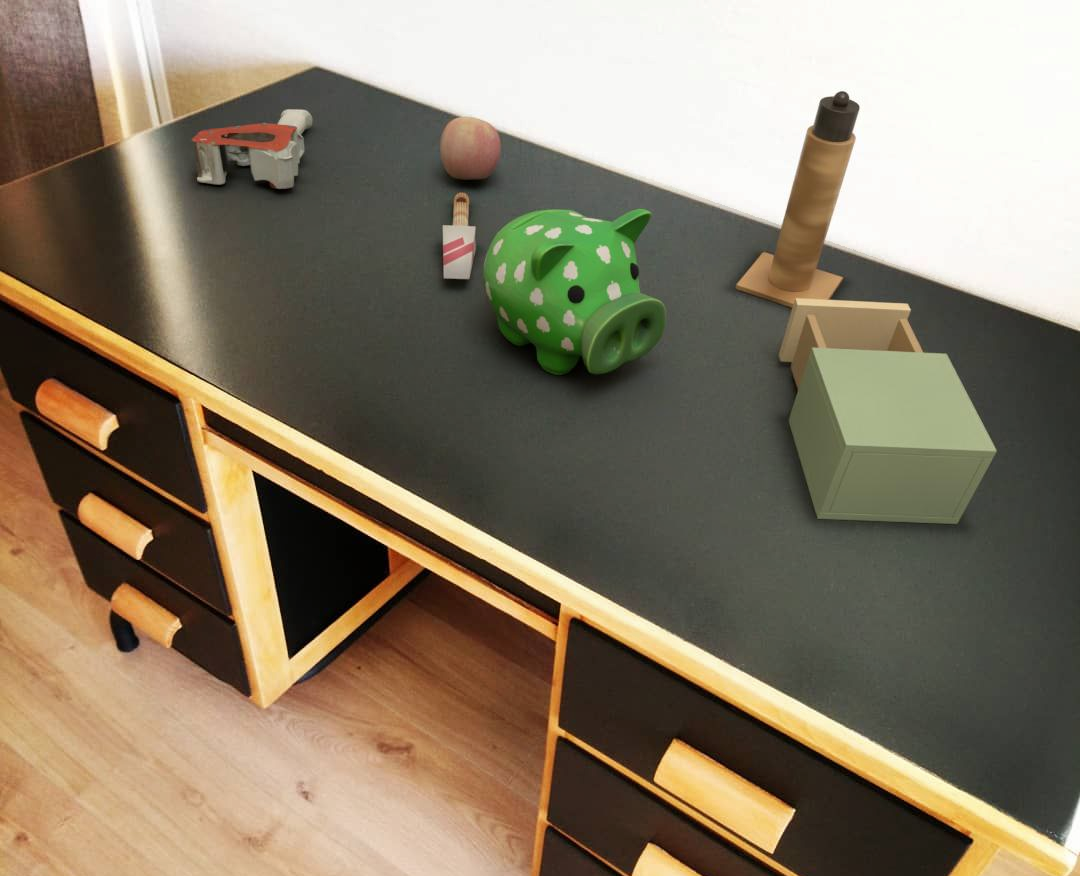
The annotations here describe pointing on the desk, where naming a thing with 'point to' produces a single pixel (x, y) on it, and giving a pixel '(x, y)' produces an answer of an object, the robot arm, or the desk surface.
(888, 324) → the drawer
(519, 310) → the piggy bank
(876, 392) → the cabinet
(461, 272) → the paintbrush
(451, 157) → the apple
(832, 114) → the pepper mill
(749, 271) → the cork mat
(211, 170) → the tape dispenser
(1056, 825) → the desk surface
